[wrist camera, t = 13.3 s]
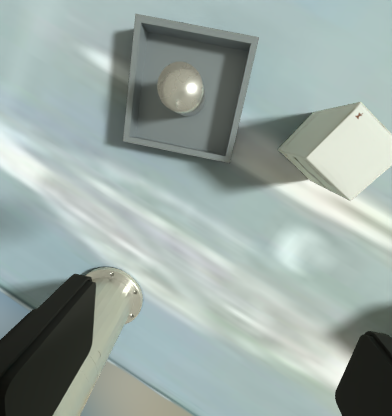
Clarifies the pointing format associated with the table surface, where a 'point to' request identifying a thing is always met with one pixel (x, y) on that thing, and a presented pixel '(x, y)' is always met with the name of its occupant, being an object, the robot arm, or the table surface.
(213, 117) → the tray
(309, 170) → the supplement box
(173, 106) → the tin can
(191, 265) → the table surface
